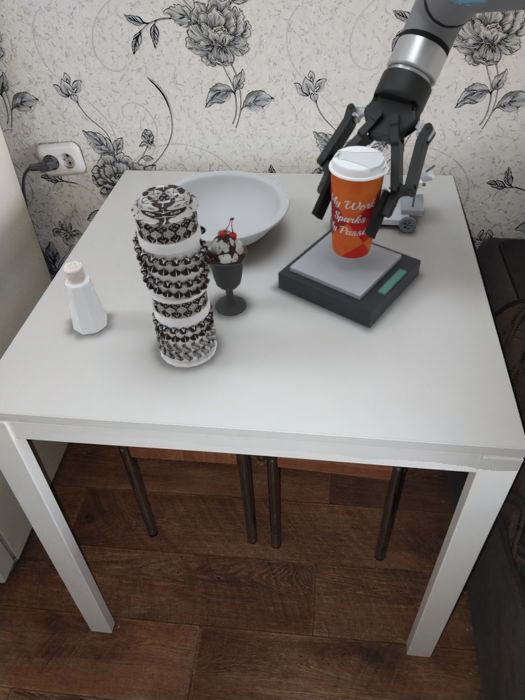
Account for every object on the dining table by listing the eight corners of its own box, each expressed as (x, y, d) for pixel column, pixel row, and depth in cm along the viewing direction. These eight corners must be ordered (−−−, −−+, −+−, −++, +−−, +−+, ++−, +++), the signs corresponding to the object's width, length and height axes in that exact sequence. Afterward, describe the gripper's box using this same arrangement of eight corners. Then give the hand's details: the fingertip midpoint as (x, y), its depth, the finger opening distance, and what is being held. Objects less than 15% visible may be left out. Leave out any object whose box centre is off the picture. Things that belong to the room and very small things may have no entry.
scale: (418, 275, 98) (421, 256, 95) (369, 327, 89) (371, 308, 86) (331, 242, 105) (332, 223, 103) (278, 287, 96) (278, 268, 94)
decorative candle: (159, 328, 90) (127, 178, 73) (219, 324, 90) (201, 173, 73) (154, 371, 84) (118, 217, 66) (219, 366, 84) (200, 212, 66)
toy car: (436, 153, 107) (439, 184, 99) (428, 201, 114) (430, 234, 106) (337, 149, 110) (332, 179, 102) (334, 196, 117) (329, 228, 108)
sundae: (253, 292, 96) (248, 211, 85) (249, 319, 91) (243, 237, 80) (213, 291, 96) (203, 210, 86) (206, 318, 91) (195, 236, 81)
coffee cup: (318, 256, 91) (321, 166, 80) (333, 229, 96) (338, 140, 86) (371, 267, 89) (381, 175, 78) (384, 238, 94) (395, 148, 83)
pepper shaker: (68, 320, 92) (48, 262, 85) (101, 308, 94) (84, 250, 87) (79, 340, 89) (59, 282, 81) (113, 327, 91) (97, 269, 83)
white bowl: (289, 199, 116) (289, 168, 112) (290, 272, 99) (289, 239, 95) (169, 201, 117) (163, 171, 113) (148, 274, 100) (141, 241, 96)
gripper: (483, 107, 83) (413, 256, 85) (353, 78, 92) (294, 212, 95) (476, 80, 76) (400, 242, 79) (337, 51, 86) (273, 197, 88)
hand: (342, 226), depth 87 cm, fingers closed on coffee cup, 8 cm apart
